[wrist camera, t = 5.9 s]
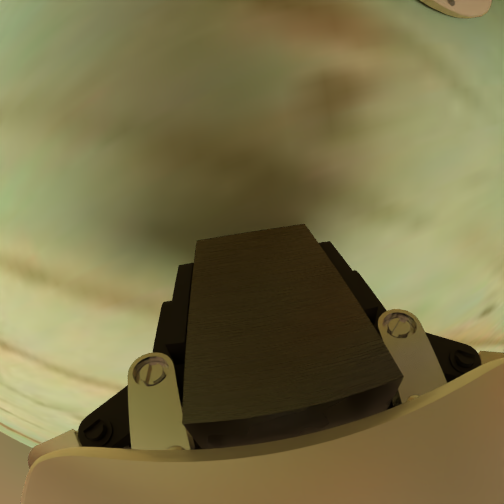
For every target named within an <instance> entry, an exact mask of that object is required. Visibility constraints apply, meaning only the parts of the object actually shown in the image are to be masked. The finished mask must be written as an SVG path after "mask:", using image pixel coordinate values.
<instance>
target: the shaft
mask: <svg viewBox="0 0 504 504" xmlns="http://www.w3.org/2000/svg"><path fill="white" fill-rule="evenodd" d="M403 378H404V376H403V374H402V373H401V371H400V369H399V367H398V366H397V364H396V362H395V361H394V359H393V357H392V355H391V354H390V352H389V350H388V349H387V347H386V345H385V344H384V342H383V340H382V339H381V337H380V336H379V334H378V332H377V331H376V329H375V328H374V326H373V324H372V323H371V321H370V320H369V318H368V316H367V315H366V313H365V312H364V310H363V309H362V307H361V305H360V304H359V302H358V301H357V299H356V298H355V296H354V295H353V293H352V292H351V290H350V289H349V287H348V286H347V284H346V283H345V281H344V280H343V278H342V277H341V275H340V274H339V272H338V271H337V269H336V268H335V266H334V265H333V264H332V262H331V261H330V259H329V258H328V256H327V255H326V253H325V252H324V251H323V249H322V248H321V246H320V245H319V243H318V242H317V241H316V239H315V238H314V236H313V235H312V234H311V232H310V231H309V230H308V228H307V227H306V225H305V224H300V225H293V226H287V227H280V228H273V229H267V230H260V231H254V232H247V233H241V234H234V235H228V236H222V237H216V238H210V239H204V240H197V243H196V250H195V258H194V267H193V276H192V285H191V295H190V305H189V316H188V327H187V340H186V354H185V370H184V389H183V415H182V424H183V425H184V427H185V428H186V429H187V431H188V432H189V433H190V435H191V436H192V437H193V438H194V440H195V441H196V442H197V443H198V445H199V446H200V447H201V448H202V449H214V448H226V447H236V446H244V445H252V444H259V443H265V442H272V441H277V440H283V439H288V438H293V437H298V436H302V435H307V434H311V433H315V432H319V431H323V430H327V429H330V428H334V427H337V426H341V425H344V424H348V423H351V422H354V421H357V420H360V419H363V418H366V417H369V416H372V415H375V414H377V413H380V412H383V411H386V410H387V408H388V407H389V405H390V403H391V401H392V399H393V397H394V395H395V394H396V392H397V390H398V388H399V386H400V384H401V382H402V380H403Z"/></svg>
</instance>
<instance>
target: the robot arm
mask: <svg viewBox="0 0 504 504" xmlns="http://www.w3.org/2000/svg"><path fill="white" fill-rule="evenodd" d="M420 1H422V2H423V3H425V4H427V5H428V6H430V7H432V8H434V9H436V10H438V11H440V12H442V13H444V14H447V15H450V16H453V17H457V18H474V17H481V16H483V15H484V14H486V13H487V12H488V10H489V9H490V7H491V2H492V0H420ZM319 245H320V246H321V248H322V249H323V251H324V252H325V253H326V255H327V256H328V258H329V259H330V261H331V262H332V264H333V265H334V266H335V268H336V269H337V271H338V272H339V274H340V275H341V277H342V278H343V280H344V281H345V283H346V284H347V286H348V287H349V289H350V290H351V292H352V293H353V295H354V296H355V298H356V299H357V301H358V302H359V304H360V305H361V307H362V309H363V310H364V312H365V313H366V315H367V316H368V318H369V320H370V321H371V323H372V324H373V326H374V328H375V329H376V331H377V332H378V334H379V336H380V337H381V339H382V340H383V342H384V344H385V345H386V347H387V349H388V350H389V352H390V354H391V355H392V357H393V359H394V361H395V362H396V364H397V366H398V367H399V369H400V371H401V373H402V374H403V376H404V378H403V380H402V382H401V384H400V386H399V388H398V390H397V392H396V394H395V395H394V397H393V399H392V401H391V403H390V405H389V407H388V408H387V410H386V411H383V412H380V413H377V414H375V415H372V416H369V417H366V418H363V419H360V420H357V421H354V422H351V423H348V424H344V425H341V426H337V427H334V428H330V429H327V430H323V431H319V432H315V433H311V434H307V435H302V436H298V437H293V438H288V439H283V440H277V441H272V442H265V443H259V444H252V445H244V446H236V447H226V448H214V449H202V448H201V447H200V446H199V445H198V443H197V442H196V441H195V440H194V438H193V437H192V436H191V435H190V433H189V432H188V431H187V429H186V428H185V427H184V425H183V424H182V415H183V389H184V370H185V354H186V340H187V327H188V316H189V305H190V295H191V285H192V276H193V267H194V263H190V264H184V265H179V267H178V272H177V277H176V282H175V288H174V293H173V299H172V301H167V302H163V304H162V307H161V312H160V317H159V322H158V327H157V332H156V337H155V342H154V348H153V353H148V354H145V355H142V356H141V357H139V358H137V359H136V360H135V361H134V362H133V363H132V365H131V366H130V368H129V371H128V385H127V386H126V387H125V388H124V389H122V390H121V391H120V392H118V393H117V394H116V395H114V396H113V397H112V398H110V399H109V400H108V401H107V402H105V403H104V404H103V405H101V406H100V407H99V408H97V409H96V410H95V411H93V412H92V413H91V414H89V415H88V416H87V417H86V418H85V419H84V420H83V421H82V422H81V424H80V426H79V429H78V431H75V430H74V429H72V430H69V431H67V432H65V433H63V434H61V435H59V436H57V437H54V438H52V439H50V440H48V441H46V442H43V443H41V444H39V445H36V446H35V447H34V448H32V450H31V451H30V453H29V456H28V465H29V469H30V470H29V472H28V474H27V477H26V480H25V484H24V487H23V492H22V497H21V503H20V504H504V353H500V352H488V351H480V352H479V354H478V353H477V351H476V350H475V349H473V348H472V347H471V346H468V345H466V344H463V343H459V342H456V341H453V340H449V339H446V338H442V337H439V336H436V335H432V334H429V333H426V332H425V331H424V329H423V327H422V325H421V323H420V321H419V320H418V318H417V317H416V316H415V315H413V314H412V313H410V312H408V311H406V310H401V309H392V310H388V311H386V309H385V308H384V307H383V305H382V304H381V302H380V301H379V300H378V298H377V297H376V296H375V294H374V293H373V291H372V290H371V289H370V287H369V286H368V285H367V283H366V282H365V281H364V279H363V278H362V277H361V276H360V274H359V273H358V272H357V271H355V270H353V271H352V269H351V268H350V267H349V265H348V264H347V263H346V261H345V260H344V259H343V257H342V256H341V255H340V254H339V252H338V251H337V250H336V248H335V247H334V246H333V245H332V243H331V242H330V241H328V242H322V243H319Z"/></svg>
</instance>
